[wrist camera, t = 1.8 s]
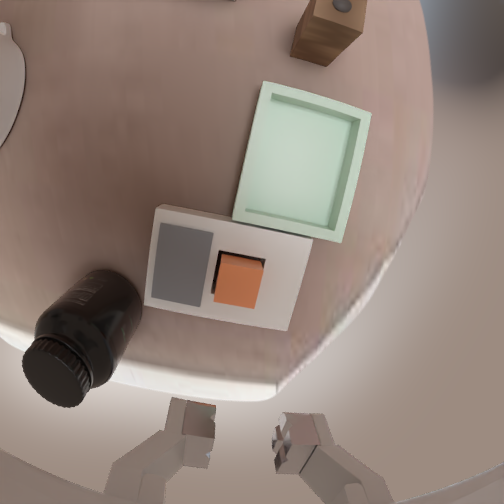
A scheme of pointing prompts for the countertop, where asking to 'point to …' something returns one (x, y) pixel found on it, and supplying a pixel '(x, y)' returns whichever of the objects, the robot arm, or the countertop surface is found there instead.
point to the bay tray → (301, 163)
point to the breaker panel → (204, 262)
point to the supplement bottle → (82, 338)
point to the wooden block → (328, 29)
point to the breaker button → (238, 281)
